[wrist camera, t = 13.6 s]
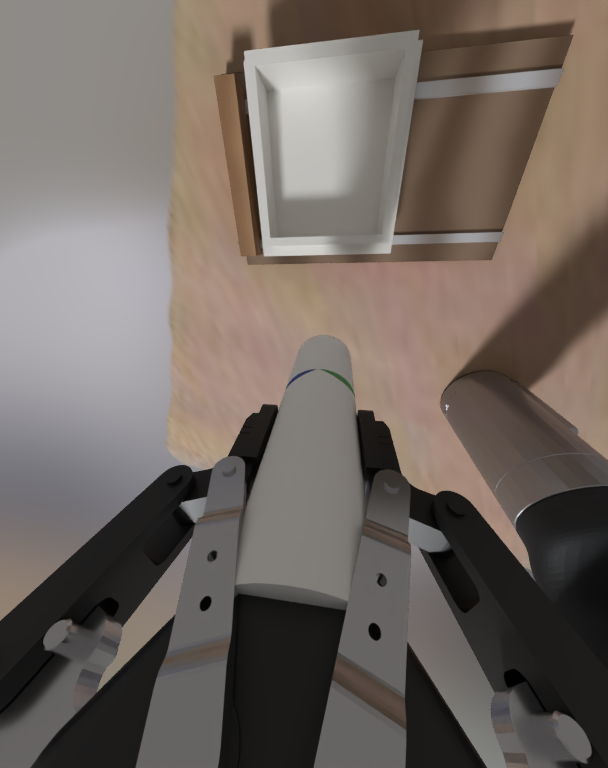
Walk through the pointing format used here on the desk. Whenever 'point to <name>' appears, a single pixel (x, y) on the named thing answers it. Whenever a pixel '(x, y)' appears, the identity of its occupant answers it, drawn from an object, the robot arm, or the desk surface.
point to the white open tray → (331, 141)
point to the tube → (308, 488)
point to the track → (431, 151)
